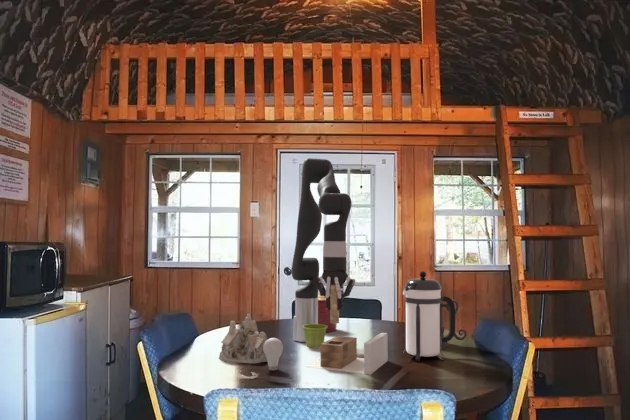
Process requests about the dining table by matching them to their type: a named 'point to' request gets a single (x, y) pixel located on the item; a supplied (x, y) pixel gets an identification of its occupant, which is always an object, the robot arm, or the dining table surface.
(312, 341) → the plant pot
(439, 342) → the coffee press
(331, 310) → the dowel
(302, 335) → the robot arm
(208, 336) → the dining table surface
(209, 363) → the dining table surface
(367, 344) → the l-shaped bookend
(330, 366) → the wooden square-hole block
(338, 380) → the dining table surface
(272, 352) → the lightbulb
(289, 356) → the dining table surface
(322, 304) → the canister
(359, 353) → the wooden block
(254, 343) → the ceramic cottage
